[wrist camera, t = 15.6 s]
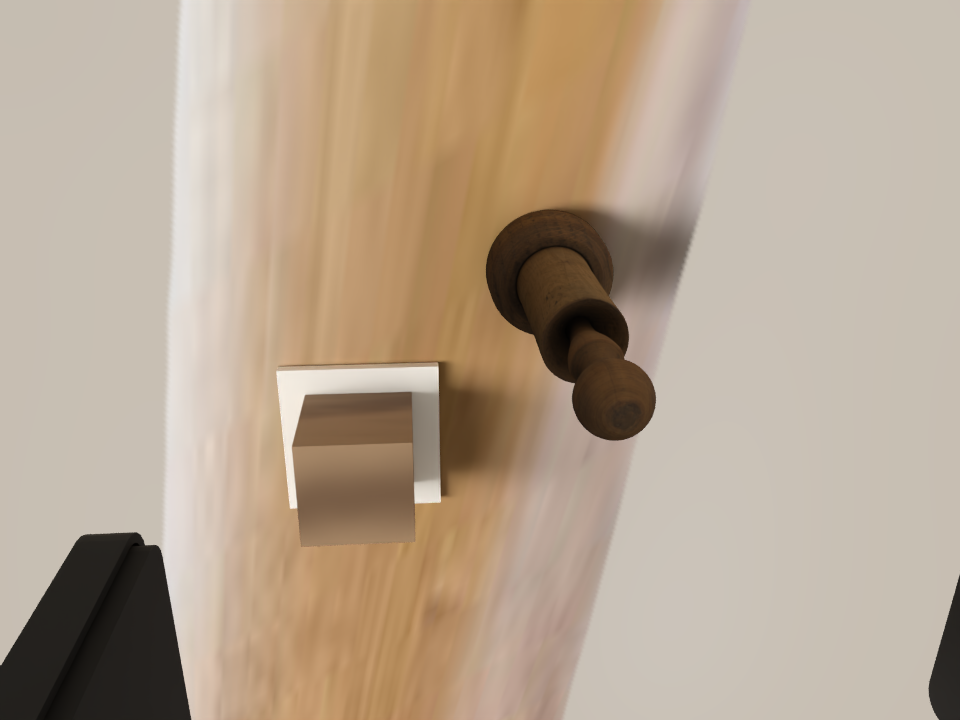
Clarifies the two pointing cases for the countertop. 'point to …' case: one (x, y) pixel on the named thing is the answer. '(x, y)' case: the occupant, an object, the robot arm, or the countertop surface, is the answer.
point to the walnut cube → (355, 469)
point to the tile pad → (370, 380)
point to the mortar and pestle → (571, 317)
